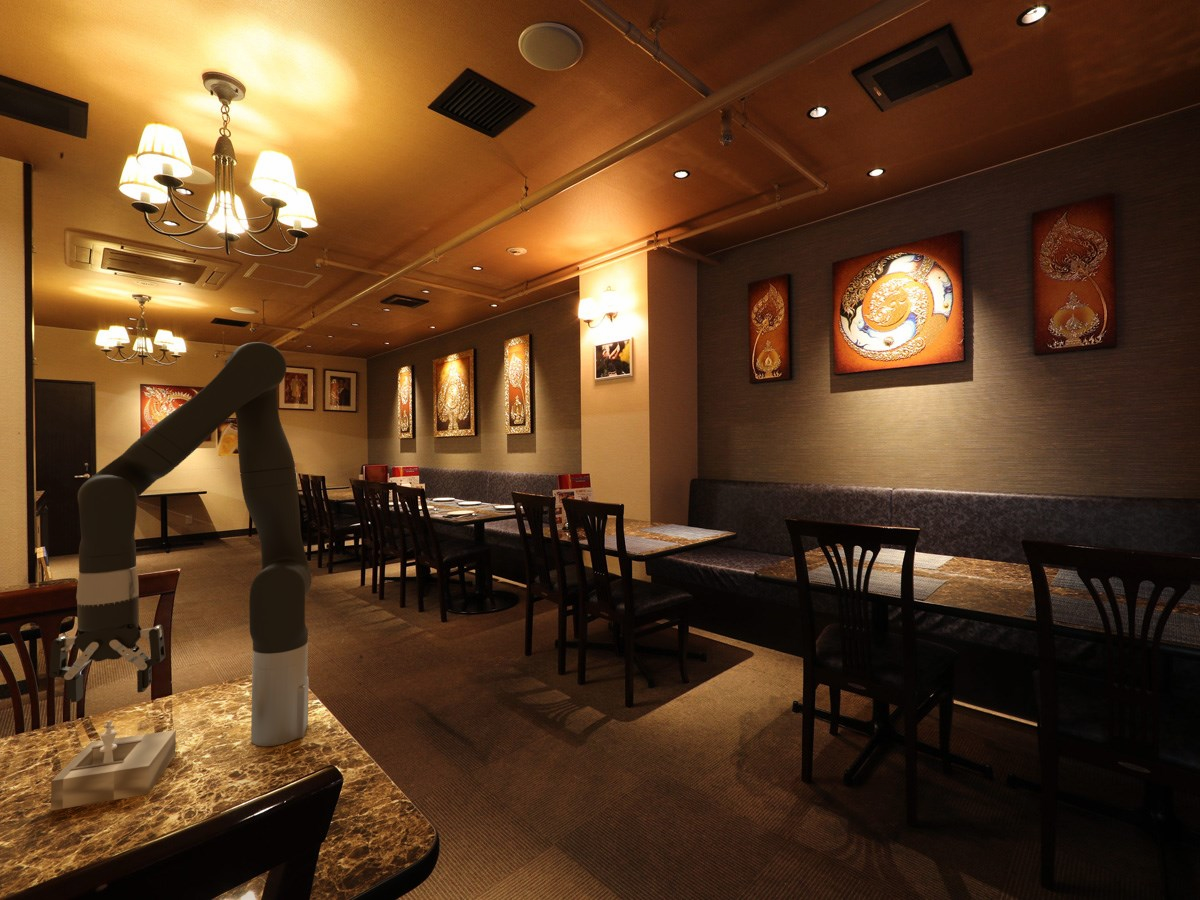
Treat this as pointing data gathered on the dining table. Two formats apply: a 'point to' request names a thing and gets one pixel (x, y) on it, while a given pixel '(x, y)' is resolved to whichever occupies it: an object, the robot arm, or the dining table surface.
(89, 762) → the socket block
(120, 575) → the robot arm
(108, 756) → the chess piece
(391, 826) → the dining table surface
